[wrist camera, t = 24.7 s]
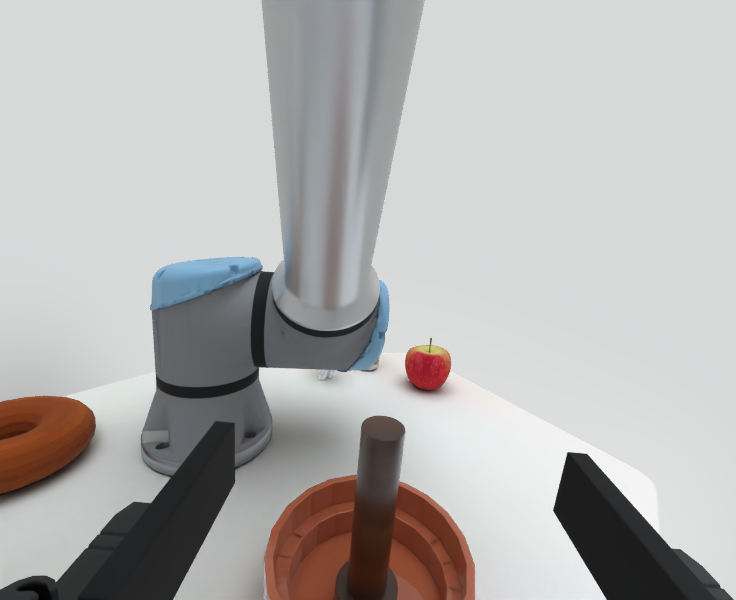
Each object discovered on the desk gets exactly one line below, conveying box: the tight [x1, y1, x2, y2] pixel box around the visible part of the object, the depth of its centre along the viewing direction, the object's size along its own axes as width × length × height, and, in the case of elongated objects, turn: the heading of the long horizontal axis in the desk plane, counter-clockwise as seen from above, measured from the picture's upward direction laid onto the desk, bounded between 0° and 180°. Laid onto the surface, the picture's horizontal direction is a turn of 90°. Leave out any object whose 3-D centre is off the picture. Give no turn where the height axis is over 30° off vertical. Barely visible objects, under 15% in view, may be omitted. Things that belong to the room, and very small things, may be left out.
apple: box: [405, 338, 451, 390], centre depth 65 cm, size 8×8×10 cm
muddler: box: [334, 416, 405, 600], centre depth 26 cm, size 5×5×15 cm
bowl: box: [263, 475, 475, 600], centre depth 27 cm, size 15×15×6 cm
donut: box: [0, 396, 96, 494], centre depth 39 cm, size 15×15×5 cm
